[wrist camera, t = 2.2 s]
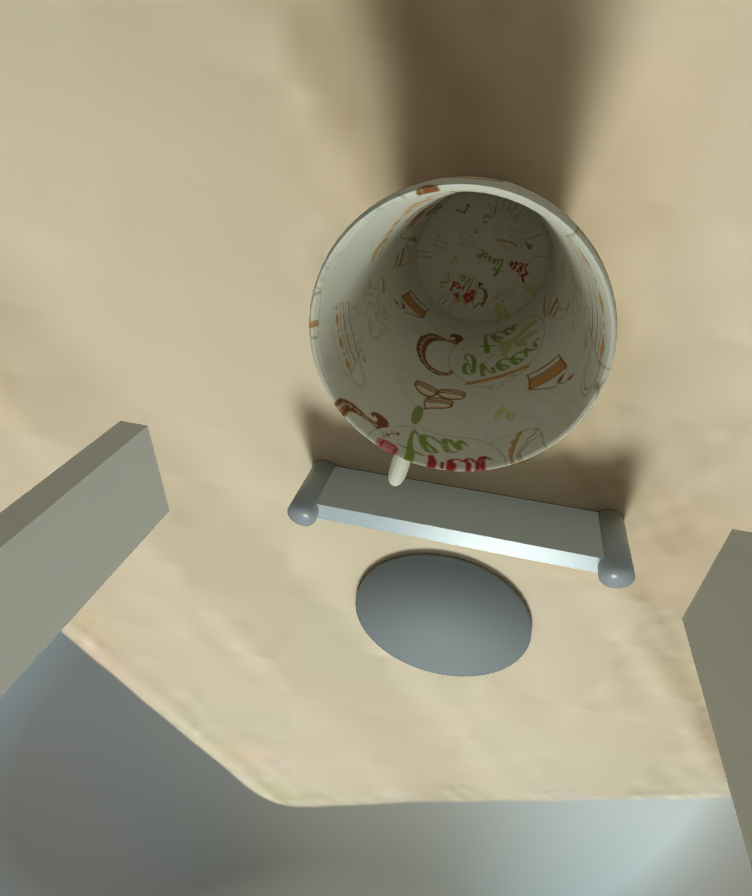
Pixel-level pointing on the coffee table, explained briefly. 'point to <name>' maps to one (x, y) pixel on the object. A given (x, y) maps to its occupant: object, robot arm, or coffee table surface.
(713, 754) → the coffee table surface
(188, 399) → the coffee table surface
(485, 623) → the coaster
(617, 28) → the coffee table surface
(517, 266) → the mug
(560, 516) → the fence
